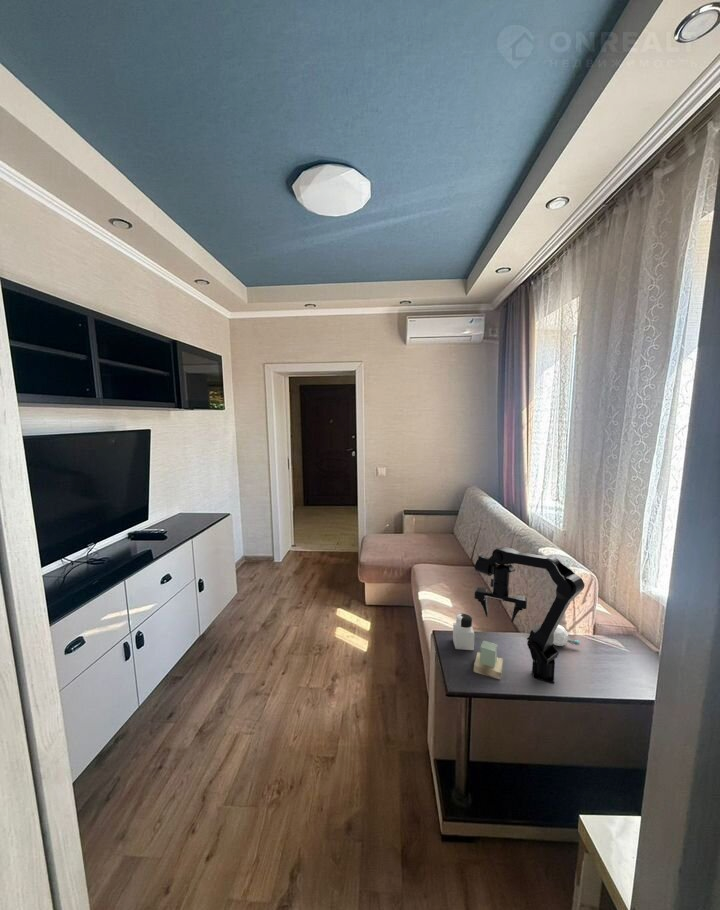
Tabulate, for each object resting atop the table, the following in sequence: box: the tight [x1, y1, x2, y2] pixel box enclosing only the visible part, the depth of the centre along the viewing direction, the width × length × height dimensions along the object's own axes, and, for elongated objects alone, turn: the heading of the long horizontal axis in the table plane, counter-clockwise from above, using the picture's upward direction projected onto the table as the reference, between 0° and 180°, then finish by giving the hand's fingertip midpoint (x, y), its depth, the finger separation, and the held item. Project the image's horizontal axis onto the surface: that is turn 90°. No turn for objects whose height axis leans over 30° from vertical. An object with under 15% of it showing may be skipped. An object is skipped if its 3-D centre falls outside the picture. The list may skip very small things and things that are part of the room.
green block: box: [479, 640, 498, 668], centre depth 132 cm, size 5×5×6 cm
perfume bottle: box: [553, 624, 580, 647], centre depth 149 cm, size 8×8×12 cm
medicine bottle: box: [452, 613, 475, 651], centre depth 147 cm, size 7×7×12 cm
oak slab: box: [473, 651, 504, 680], centre depth 133 cm, size 9×9×3 cm
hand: (499, 619), depth 143 cm, fingers open, 9 cm apart
